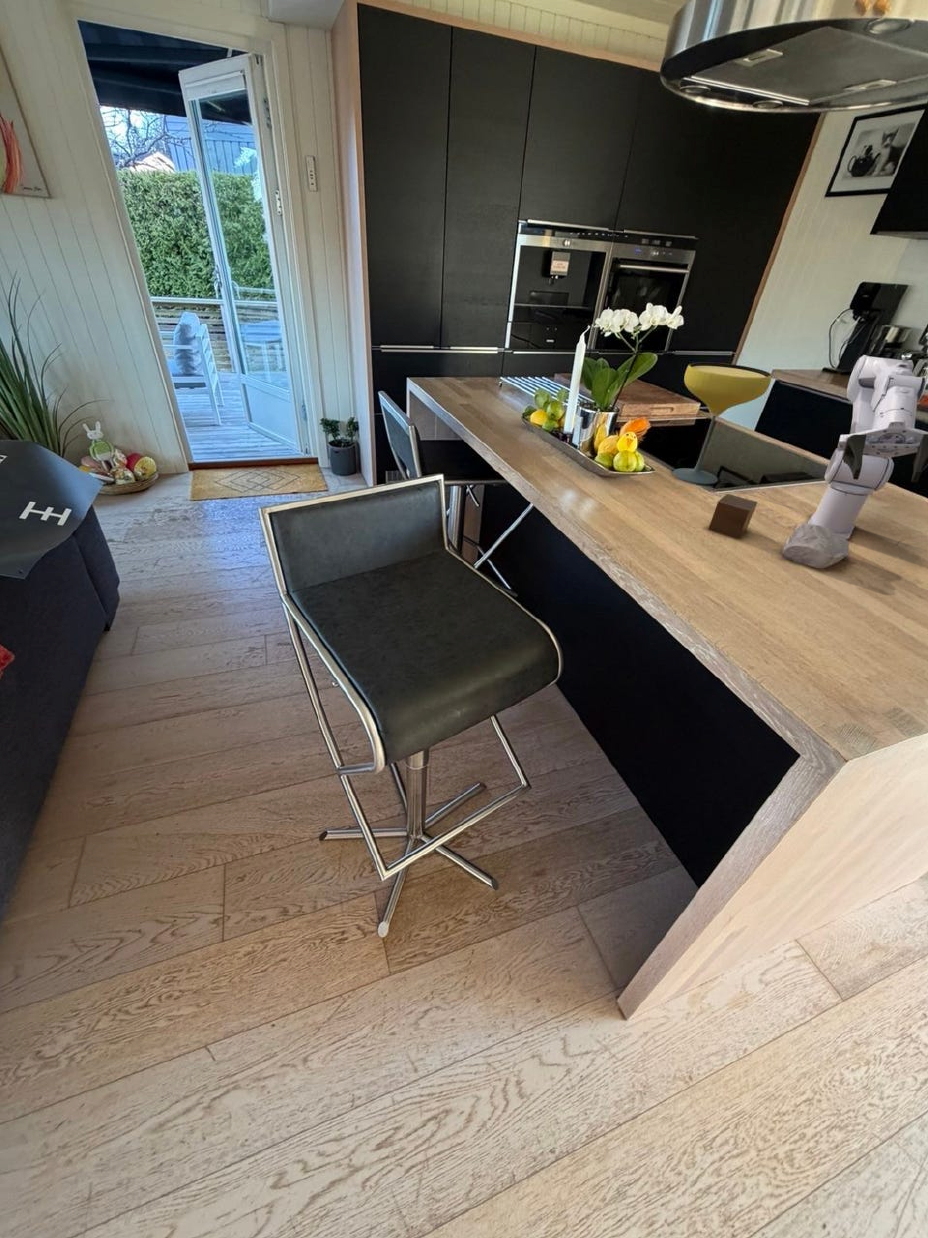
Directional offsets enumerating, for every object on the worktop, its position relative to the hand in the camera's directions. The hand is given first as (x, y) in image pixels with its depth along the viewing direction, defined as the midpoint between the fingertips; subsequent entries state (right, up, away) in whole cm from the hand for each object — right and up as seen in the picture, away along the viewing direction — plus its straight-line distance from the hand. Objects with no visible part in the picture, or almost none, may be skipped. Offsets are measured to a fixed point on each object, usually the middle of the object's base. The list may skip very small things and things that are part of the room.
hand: (886, 475), depth 84 cm
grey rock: (-2, -11, +15) cm, 19 cm away
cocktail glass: (-10, +13, +48) cm, 51 cm away
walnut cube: (-14, -5, +23) cm, 27 cm away
